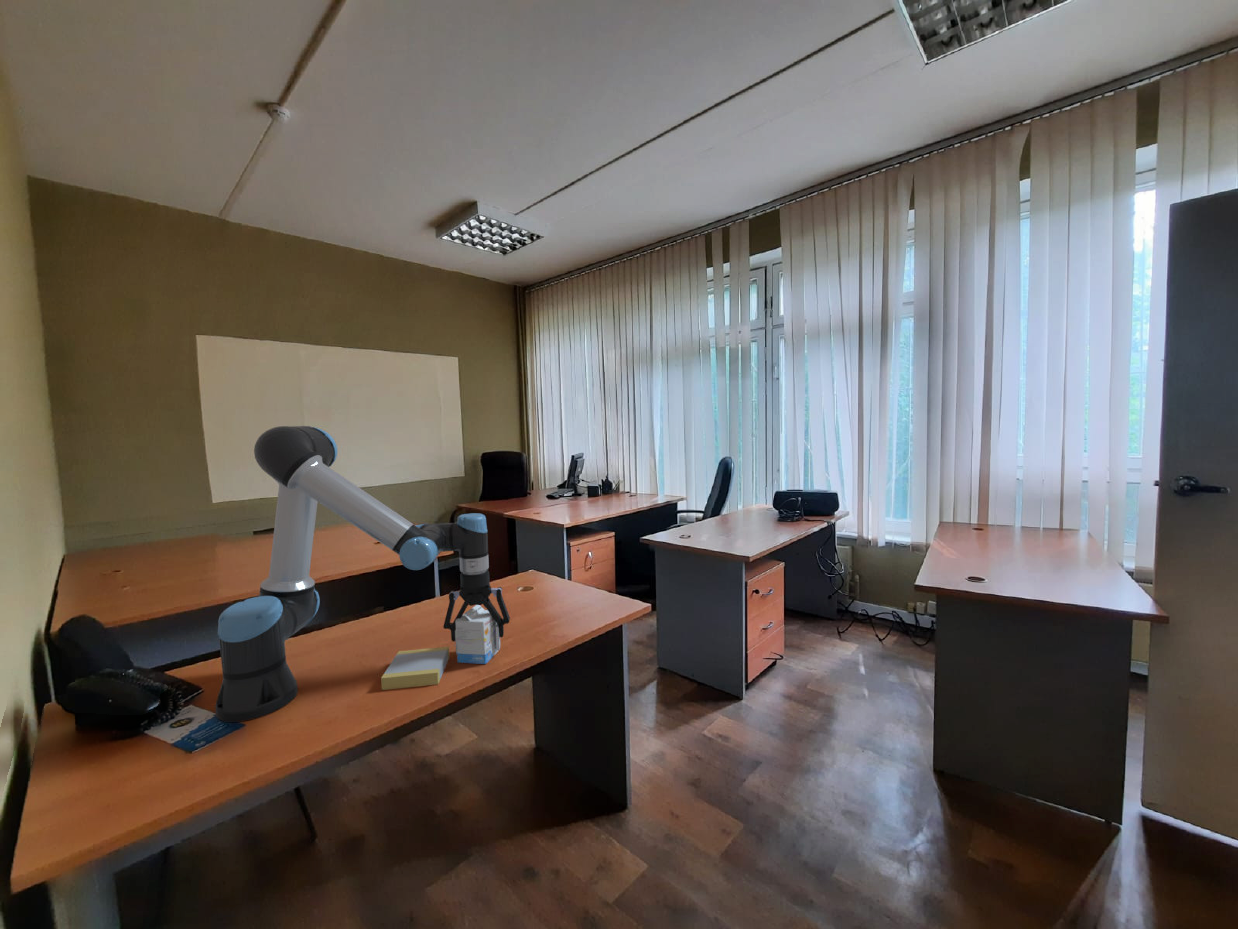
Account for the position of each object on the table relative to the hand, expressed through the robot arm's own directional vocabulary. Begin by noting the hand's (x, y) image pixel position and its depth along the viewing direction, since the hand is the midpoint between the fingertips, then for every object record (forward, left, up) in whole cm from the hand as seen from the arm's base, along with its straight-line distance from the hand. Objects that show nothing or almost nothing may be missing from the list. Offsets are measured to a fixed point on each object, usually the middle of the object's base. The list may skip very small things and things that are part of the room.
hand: (478, 650), depth 130 cm
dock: (-15, -6, -2) cm, 16 cm away
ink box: (0, 0, -2) cm, 2 cm away
